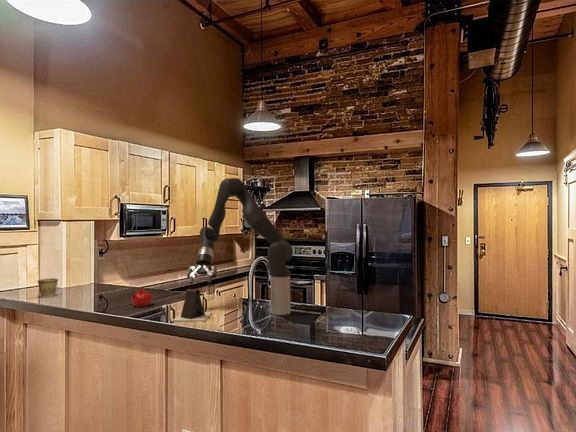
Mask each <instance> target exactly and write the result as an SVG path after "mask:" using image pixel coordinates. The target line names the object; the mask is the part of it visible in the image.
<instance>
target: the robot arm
mask: <svg viewBox="0 0 576 432" xmlns="http://www.w3.org/2000/svg"><path fill="white" fill-rule="evenodd" d="M216 196H217V197H216V200H215V203H214V207H213V210H212V212H211V215H210V216H209V219H208V222H207V225H208V226H203V227H201V229H200V231H199V239H200V245H199V246H200V247H199V250H198V254H197V257H196V262H195V266H192V265H190V264H189V265H188V267H187V268H188V269H187V272H186V276H187V278H188V282H189V284H190V286H192V285H193V283H194V278H195V277H198V276H202V275H203V276H205V275H207V276H208V277H207V285H211V283H212V280H213V279H214V278H217V275H218V274H217V273H218V267H217V264H214V265H212V264H213V263H212V262H213V259H214V250H215V243H216V242H217V241H219V238H220V234H221V227H222V224H223V222H224V220H225V218H226V203H227V201H228V200H229V198H230V197H236V198H237V199H238V200H239V202H240V203H241V205H242V209H243V216H244V219H245V221H246V223H247V224H248V225H249V226H250V228H251V229H252V230H253V231H254V232H256V233H257V234H258V235H259V236H261V237H262V238H263V239H265V240H266V241H267V242H268V244H270V245H269V247H268V250H267V251H268V252H267V262H268V271H269V273H270V280H269V281H270V314H272V315H275V316H285V315H291V270H290V268H288V267H287V261H289V260H290V259H292V256H293V255H294V254H293V253H294V251H293V247H292V245H291V244H290V242H288V240H286V238H285V237H284V236H283V235H282V234H281V233H280V232H279V231H278V229H276V227H275V226H274V224H273V223H272V222H271V220H270V219H269V217H267V215H266V213H264V211H263V210H262V209H261V207H260V206H259V205H258V203H257V202H256V201H255V199H254V197H252V195H251V193H250V191H249V190H248V189H247V187H246V185H245V184H244V182H243V181H242V180H241V179H240V178H239V177H238V178H237V177H233V178H231V177H230V178H229V177H228V178H224V179H223V180H221V182H220V185H219V187H218V190H217V195H216ZM211 270H212V271H213V273H211Z"/></svg>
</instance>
